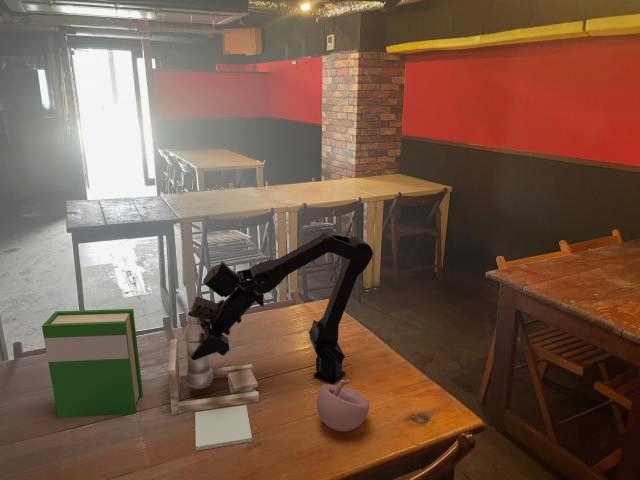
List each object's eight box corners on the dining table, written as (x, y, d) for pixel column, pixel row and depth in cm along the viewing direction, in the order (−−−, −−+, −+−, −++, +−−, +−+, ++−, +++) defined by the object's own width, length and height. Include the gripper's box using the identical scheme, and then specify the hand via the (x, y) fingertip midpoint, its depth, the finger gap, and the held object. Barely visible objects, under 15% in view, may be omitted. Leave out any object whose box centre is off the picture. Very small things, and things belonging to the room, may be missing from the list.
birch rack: (252, 369, 135) (250, 330, 132) (259, 402, 121) (257, 359, 118) (174, 379, 130) (170, 339, 127) (171, 414, 116) (167, 370, 113)
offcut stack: (254, 377, 132) (253, 368, 131) (258, 395, 125) (258, 385, 124) (227, 381, 130) (227, 371, 129) (231, 399, 123) (230, 389, 122)
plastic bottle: (202, 374, 129) (197, 305, 123) (219, 384, 125) (214, 312, 119) (182, 385, 124) (175, 314, 118) (198, 396, 120) (192, 322, 114)
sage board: (246, 408, 119) (246, 405, 119) (252, 441, 108) (251, 437, 108) (195, 415, 116) (195, 412, 116) (196, 450, 105) (195, 446, 105)
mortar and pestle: (378, 425, 113) (381, 383, 110) (343, 451, 105) (344, 405, 102) (341, 402, 121) (342, 362, 118) (305, 424, 113) (305, 381, 110)
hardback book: (143, 395, 124) (133, 308, 117) (135, 413, 117) (124, 323, 109) (70, 398, 122) (55, 311, 115) (58, 418, 115) (41, 325, 108)
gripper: (208, 273, 126) (167, 317, 127) (211, 303, 109) (164, 354, 109) (240, 298, 130) (201, 340, 131) (248, 331, 113) (202, 379, 114)
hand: (192, 352), depth 121 cm, fingers closed on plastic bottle, 6 cm apart
